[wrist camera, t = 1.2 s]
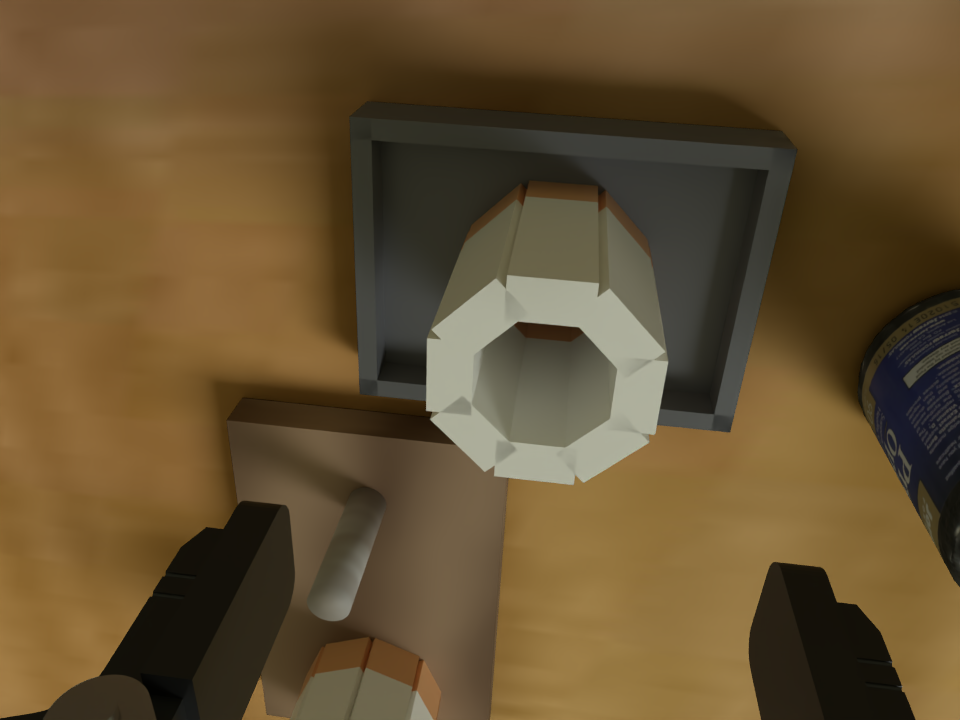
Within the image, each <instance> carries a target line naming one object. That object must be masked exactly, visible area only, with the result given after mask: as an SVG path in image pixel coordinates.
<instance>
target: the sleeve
mask: <svg viewBox="0 0 960 720" xmlns="http://www.w3.org/2000/svg"><path fill="white" fill-rule="evenodd" d="M667 366H668V356H667V350H666V344H665V338H664V332H663V326H662V319H661V313H660V307H659V301H658V295H657V289H656V282H655V276H654V270H653V264H652V258H651V252H650V247H649V245H648V239H647V238H646V237H645V236H644V235H643V233H642V232H641V231H640V230H639V229H638V228H637V226H636V225H635V224H634V223H633V222H632V220H631V219H630V218H629V217H628V216H627V214H626V213H625V212H624V211H623V210H622V209H621V207H620V206H619V205H618V204H617V203H616V201H615V200H614V199H613V198H612V197H611V195H610V194H609V193H608V192H607V191H606V190H605V191H603V192H602V193H601V194H600V195H598V186H594V185H581V184H568V183H556V182H543V181H530V180H529V184H528V188H527V189H526V188H525V187H524V186H523V185H522V184H519V185H518V186H517V187H516V188H515V189H513V190H512V191H511V192H510V193H509V194H507V195H506V196H505V197H504V198H503V199H502V200H500V201H499V202H498V203H497V204H496V205H494V206H493V207H492V208H491V209H490V210H489V211H487V212H486V213H485V214H484V215H483V216H481V217H480V218H479V219H478V220H477V221H475V222H474V223H473V224H472V225H471V228H470V230H469V232H468V233H467V236H466V239H465V241H464V244H463V246H462V249H461V252H460V254H459V257H458V259H457V262H456V265H455V267H454V270H453V272H452V275H451V277H450V280H449V283H448V285H447V288H446V290H445V293H444V296H443V298H442V301H441V303H440V306H439V308H438V311H437V314H436V316H435V319H434V321H433V324H432V327H431V329H430V332H429V334H428V337H427V381H426V411H432V415H431V418H430V420H431V421H432V422H433V423H434V424H435V425H436V426H437V427H438V428H440V429H441V430H442V431H443V432H444V433H445V434H446V435H447V436H448V437H449V438H450V439H451V440H452V441H453V442H454V443H455V444H456V445H457V446H458V447H459V448H460V449H461V450H462V451H463V452H465V453H466V454H467V455H468V456H469V457H470V458H471V459H472V460H473V461H474V462H475V463H476V464H477V465H478V466H479V467H480V468H481V469H482V470H483V471H484V472H486V471H487V470H489V469H490V468H492V467H493V466H495V469H494V476H497V477H506V478H515V479H524V480H533V481H542V482H552V483H561V484H570V485H574V478H575V475H576V476H577V477H578V478H579V479H580V480H581V481H582V482H583V483H584V482H586V481H587V480H589V479H591V478H592V477H594V476H596V475H597V474H599V473H601V472H602V471H604V470H605V469H607V468H609V467H610V466H612V465H614V464H615V463H617V462H618V461H620V460H622V459H623V458H625V457H627V456H628V455H630V454H631V453H633V452H635V451H636V450H638V449H640V448H641V447H643V446H644V445H646V444H648V443H649V434H653V435H655V432H656V426H657V421H658V416H659V410H660V405H661V399H662V394H663V388H664V383H665V377H666V372H667Z"/></svg>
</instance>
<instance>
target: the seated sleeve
mask: <svg viewBox="0 0 960 720" xmlns="http://www.w3.org/2000/svg"><path fill="white" fill-rule="evenodd" d="M419 657H420V656H418V655H415V654H413V653H410V652H408V651H406V650H403V649H401V648H398V647H396V646H394V645H391V644H389V643H387V642H384V641H382V640H379V639H377V638H375V639H374V641H373V642H372V641H371V639H370V638H369V637H366V638H360V639H354V640H348V641H342V642H336V643H330V644H326V646H325V648H324V647H322V648H321V649H320V651H319V653H318V655H317V657H316V659H315V660H314V662H313V664H312V666H311V668H310V670H309V671H308V673H307V675H306V678H305V681H304V683H303V686H302V689H301V691H300V694H299V697H298V700H297V702H296V705H295V708H294V710H293V713H292V716H291V718H290V720H437V715H438V710H439V705H440V700H441V691H440V689H439V687H438V685H437V683H436V681H435V680H434V678H433V676H432V674H431V672H430V670H429V668H428V667H427V665H426V663H425V661H424V660H420V661H419Z"/></svg>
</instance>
